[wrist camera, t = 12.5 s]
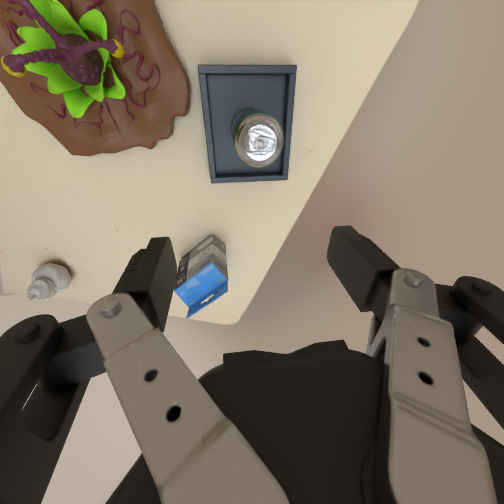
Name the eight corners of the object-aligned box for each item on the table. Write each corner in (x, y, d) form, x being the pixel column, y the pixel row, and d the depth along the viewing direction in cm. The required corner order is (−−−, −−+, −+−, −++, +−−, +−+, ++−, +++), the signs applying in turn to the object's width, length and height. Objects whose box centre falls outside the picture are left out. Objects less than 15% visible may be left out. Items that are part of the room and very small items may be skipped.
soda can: (232, 104, 30) (237, 108, 20) (269, 110, 30) (291, 117, 21) (228, 145, 32) (232, 167, 23) (262, 150, 33) (280, 173, 24)
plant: (-70, -23, 22) (-283, -110, 12) (109, -120, 20) (13, -306, 11) (85, 174, 33) (33, 205, 24) (207, 125, 31) (201, 137, 22)
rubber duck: (76, 262, 41) (49, 293, 35) (75, 287, 44) (50, 320, 38) (40, 254, 40) (5, 285, 33) (42, 281, 43) (10, 314, 36)
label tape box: (212, 232, 41) (209, 277, 31) (227, 246, 43) (229, 292, 33) (179, 259, 43) (166, 308, 33) (194, 271, 46) (187, 320, 36)
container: (199, 67, 28) (197, 64, 25) (291, 67, 29) (297, 64, 26) (211, 178, 35) (211, 183, 33) (283, 175, 36) (287, 180, 34)
